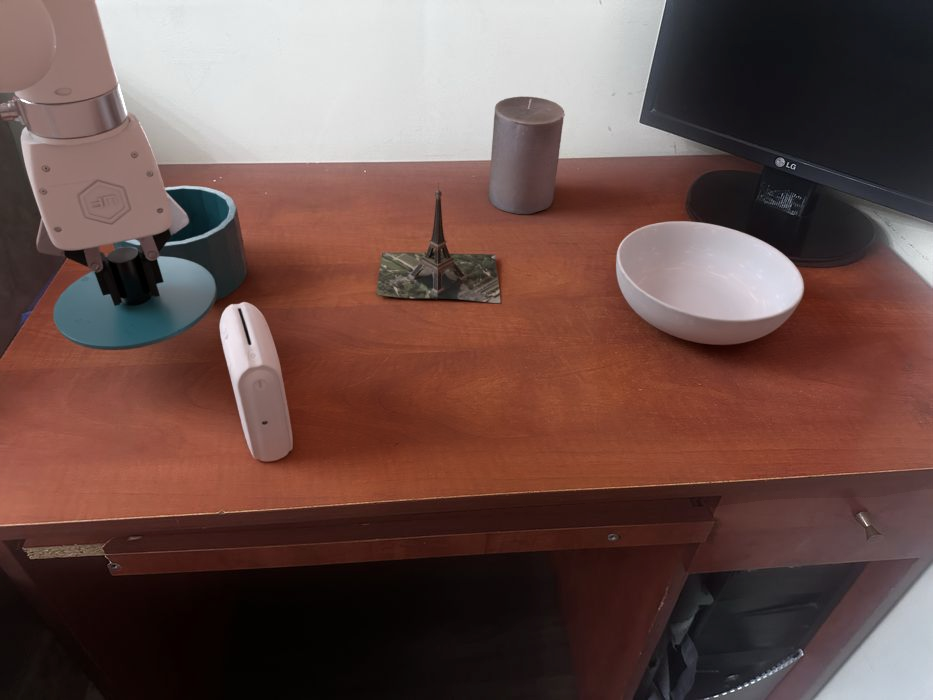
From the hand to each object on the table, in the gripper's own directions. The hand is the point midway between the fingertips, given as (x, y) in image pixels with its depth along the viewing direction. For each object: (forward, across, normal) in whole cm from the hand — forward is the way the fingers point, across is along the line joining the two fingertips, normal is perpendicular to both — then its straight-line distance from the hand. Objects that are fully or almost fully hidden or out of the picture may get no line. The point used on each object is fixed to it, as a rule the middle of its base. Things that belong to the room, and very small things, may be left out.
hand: (135, 291), depth 69 cm
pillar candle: (+9, +54, +16) cm, 57 cm away
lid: (+1, 0, 0) cm, 1 cm away
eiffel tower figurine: (+9, +34, +2) cm, 35 cm away
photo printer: (+9, +8, -14) cm, 18 cm away
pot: (+9, +6, +15) cm, 18 cm away
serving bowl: (+9, +59, -17) cm, 62 cm away
